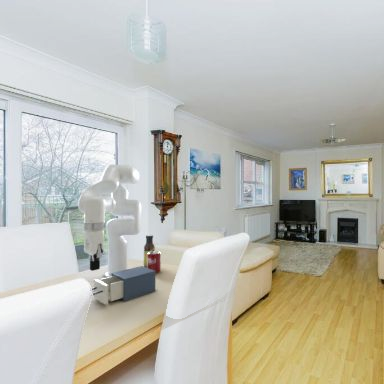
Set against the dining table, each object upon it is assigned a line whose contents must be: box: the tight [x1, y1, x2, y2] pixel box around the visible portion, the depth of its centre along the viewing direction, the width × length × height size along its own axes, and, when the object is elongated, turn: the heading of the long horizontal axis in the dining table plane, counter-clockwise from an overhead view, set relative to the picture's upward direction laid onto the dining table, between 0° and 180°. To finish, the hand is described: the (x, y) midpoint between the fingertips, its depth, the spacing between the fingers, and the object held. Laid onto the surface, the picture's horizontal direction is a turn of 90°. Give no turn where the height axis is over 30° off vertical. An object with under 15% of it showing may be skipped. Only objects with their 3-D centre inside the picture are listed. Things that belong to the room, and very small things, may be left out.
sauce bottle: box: [143, 234, 156, 268], centre depth 160 cm, size 6×6×20 cm
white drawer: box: [91, 276, 124, 306], centre depth 113 cm, size 19×11×8 cm, turn 142°
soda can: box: [147, 250, 162, 276], centre depth 149 cm, size 7×7×12 cm
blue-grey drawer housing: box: [111, 265, 156, 302], centre depth 122 cm, size 15×13×10 cm
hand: (94, 269), depth 110 cm, fingers closed
